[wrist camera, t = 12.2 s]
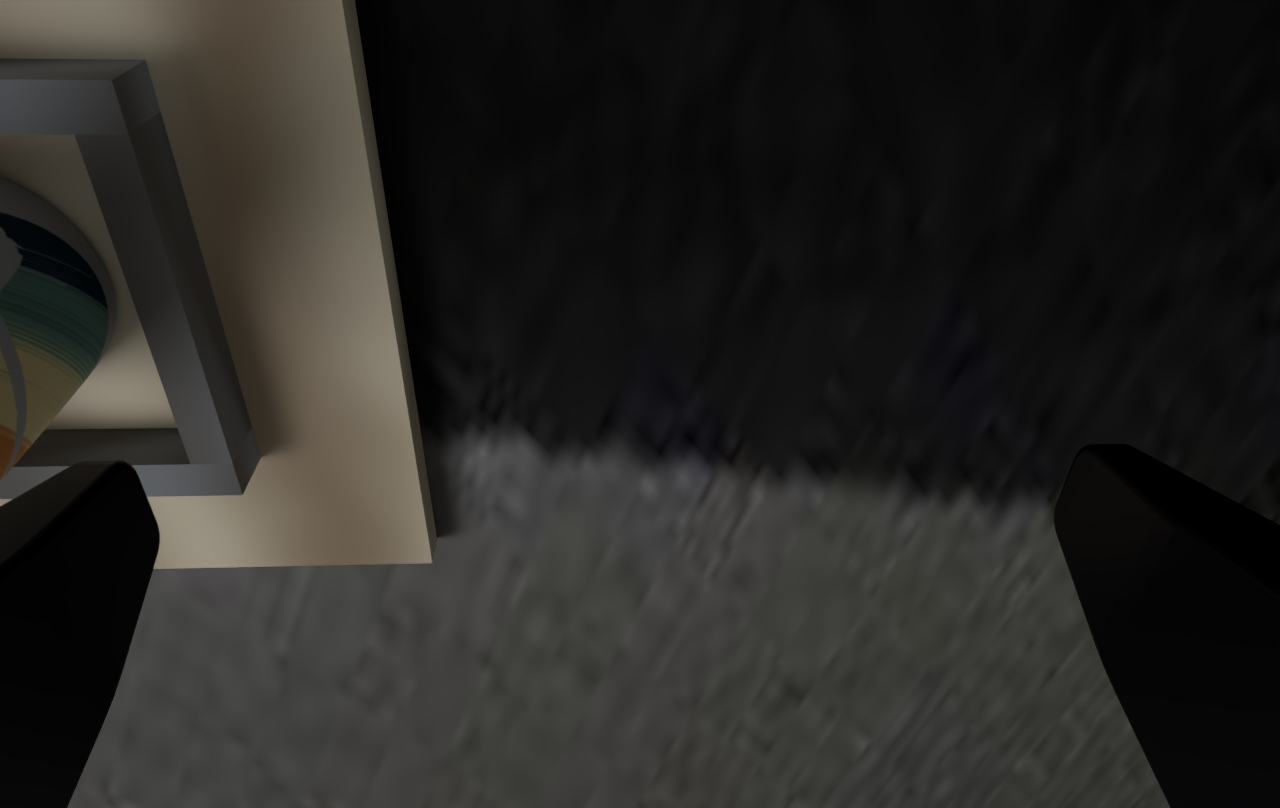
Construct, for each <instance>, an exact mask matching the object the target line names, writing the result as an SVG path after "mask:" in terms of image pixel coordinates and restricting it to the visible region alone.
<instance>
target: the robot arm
mask: <svg viewBox="0 0 1280 808" xmlns="http://www.w3.org/2000/svg"><path fill="white" fill-rule="evenodd" d="M1054 524H1055V530H1056V534H1057V537H1058V540H1059V542H1060V545H1061V548H1062V551H1063V554H1064V557H1065V560H1066V562H1067V565H1068V568H1069V571H1070V574H1071V577H1072V580H1073V582H1074V585H1075V588H1076V591H1077V594H1078V597H1079V600H1080V602H1081V605H1082V608H1083V611H1084V614H1085V617H1086V620H1087V622H1088V625H1089V628H1090V631H1091V634H1092V637H1093V640H1094V642H1095V645H1096V648H1097V650H1098V653H1099V656H1100V658H1101V661H1102V663H1103V666H1104V668H1105V670H1106V673H1107V675H1108V677H1109V679H1110V682H1111V684H1112V686H1113V688H1114V691H1115V693H1116V695H1117V697H1118V699H1119V701H1120V703H1121V705H1122V707H1123V710H1124V712H1125V714H1126V716H1127V718H1128V720H1129V722H1130V724H1131V726H1132V728H1133V731H1134V733H1135V735H1136V737H1137V739H1138V741H1139V743H1140V745H1141V747H1142V749H1143V751H1144V754H1145V756H1146V758H1147V760H1148V762H1149V764H1150V766H1151V768H1152V770H1153V772H1154V775H1155V777H1156V779H1157V781H1158V783H1159V785H1160V787H1161V789H1162V791H1163V793H1164V795H1165V798H1166V800H1167V802H1168V804H1169V806H1170V808H1280V525H1278V524H1276V523H1274V522H1273V521H1271V520H1269V519H1267V518H1265V517H1263V516H1261V515H1260V514H1258V513H1256V512H1254V511H1252V510H1250V509H1248V508H1246V507H1245V506H1243V505H1241V504H1239V503H1237V502H1235V501H1233V500H1231V499H1230V498H1228V497H1226V496H1224V495H1222V494H1220V493H1218V492H1216V491H1215V490H1213V489H1211V488H1209V487H1207V486H1205V485H1203V484H1201V483H1200V482H1198V481H1196V480H1194V479H1192V478H1190V477H1188V476H1186V475H1185V474H1183V473H1181V472H1179V471H1177V470H1175V469H1173V468H1171V467H1170V466H1168V465H1166V464H1164V463H1162V462H1160V461H1158V460H1157V459H1155V458H1153V457H1151V456H1149V455H1147V454H1145V453H1143V452H1142V451H1140V450H1138V449H1136V448H1134V447H1132V446H1130V445H1125V444H1091V445H1087V446H1085V447H1083V448H1081V449H1080V451H1079V452H1078V453H1077V454H1076V456H1075V458H1074V461H1073V463H1072V466H1071V468H1070V471H1069V474H1068V476H1067V479H1066V481H1065V484H1064V486H1063V489H1062V491H1061V494H1060V496H1059V499H1058V502H1057V504H1056V508H1055V513H1054ZM159 544H160V533H159V527H158V523H157V521H156V518H155V516H154V513H153V511H152V508H151V506H150V503H149V501H148V498H147V496H146V493H145V491H144V488H143V486H142V483H141V481H140V478H139V476H138V474H137V472H136V470H135V468H134V467H133V466H132V465H131V464H130V463H128V462H125V461H123V460H89V461H81V462H77V463H75V464H73V465H71V466H69V467H68V468H66V469H64V470H63V471H61V472H59V473H57V474H56V475H54V476H52V477H50V478H49V479H47V480H45V481H43V482H42V483H40V484H38V485H36V486H35V487H33V488H31V489H29V490H28V491H26V492H24V493H23V494H21V495H19V496H17V497H16V498H14V499H12V500H10V501H9V502H7V503H5V504H3V505H2V506H0V808H67V807H68V804H69V802H70V800H71V797H72V795H73V793H74V790H75V788H76V786H77V783H78V781H79V779H80V776H81V774H82V772H83V769H84V767H85V765H86V762H87V760H88V758H89V755H90V753H91V751H92V748H93V746H94V744H95V741H96V739H97V737H98V734H99V732H100V730H101V728H102V725H103V723H104V720H105V718H106V715H107V713H108V710H109V708H110V705H111V703H112V700H113V698H114V695H115V692H116V689H117V686H118V683H119V680H120V677H121V674H122V671H123V668H124V664H125V661H126V658H127V654H128V651H129V648H130V644H131V641H132V638H133V635H134V631H135V628H136V625H137V621H138V618H139V615H140V611H141V608H142V605H143V601H144V598H145V595H146V591H147V588H148V585H149V581H150V578H151V575H152V571H153V568H154V565H155V561H156V558H157V555H158V551H159Z"/></svg>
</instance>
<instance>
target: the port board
mask: <svg viewBox="0 0 1280 808" xmlns="http://www.w3.org/2000/svg"><path fill="white" fill-rule="evenodd" d="M0 177H2V178H4V179H7V180H9V181H11V182H13V183H15V184H17V185H19V186H21V187H23V188H25V189H26V190H28V191H30V192H32V193H33V194H35V195H37V196H38V197H40V198H41V199H43V200H44V201H46V202H47V203H48V204H50V205H51V206H52V207H54V208H55V209H56V210H57V211H59V212H60V213H61V214H62V215H63V216H64V217H65V218H67V219H68V220H69V221H70V222H71V223H72V224H73V225H74V226H75V227H76V228H77V229H78V230H79V231H80V233H81V234H82V235H83V236H84V237H85V238H86V240H87V241H88V242H89V244H90V245H91V246H92V248H93V249H94V251H95V252H96V254H97V255H98V257H99V259H100V260H101V262H102V264H103V266H104V268H105V270H106V272H107V274H108V276H109V279H110V282H111V284H112V288H113V292H114V296H115V302H116V324H115V329H114V333H113V336H112V339H111V342H110V344H109V347H108V349H107V350H106V352H105V354H104V356H103V357H102V359H101V360H100V362H99V363H98V365H97V366H96V367H95V369H94V370H93V371H92V373H91V374H90V375H89V377H88V378H87V379H86V380H85V382H84V383H83V384H82V385H81V387H80V388H79V389H78V390H77V391H76V393H75V394H74V395H73V396H72V398H71V399H70V400H69V401H68V402H67V404H66V405H65V406H64V407H63V408H62V410H61V411H60V412H59V413H58V414H57V416H56V417H55V418H54V419H53V420H52V422H51V423H50V424H49V425H48V426H47V427H46V429H45V430H44V431H43V432H42V433H41V434H40V436H39V437H38V438H37V439H36V440H35V442H34V443H33V444H32V445H31V446H30V447H29V449H28V450H27V451H26V452H25V453H24V455H23V456H22V457H21V458H20V459H19V460H18V462H17V463H16V464H15V465H14V466H13V467H12V469H11V470H10V471H9V472H8V473H7V475H6V476H5V477H4V478H3V479H2V480H1V482H0V506H2V505H3V504H5V503H7V502H9V501H10V500H12V499H14V498H16V497H17V496H19V495H21V494H23V493H24V492H26V491H28V490H29V489H31V488H33V487H35V486H36V485H38V484H40V483H42V482H43V481H45V480H47V479H49V478H50V477H52V476H54V475H56V474H57V473H59V472H61V471H63V470H64V469H66V468H68V467H69V466H71V465H73V464H75V463H77V462H81V461H89V460H123V461H125V462H128V463H130V464H131V465H132V466H133V467H134V468H135V470H136V472H137V474H138V476H139V478H140V481H141V483H142V486H143V488H144V491H145V493H146V496H147V498H148V501H149V503H150V506H151V508H152V511H153V513H154V516H155V518H156V521H157V523H158V527H159V533H160V544H159V551H158V555H157V558H156V561H155V565H154V568H153V569H171V568H219V567H267V566H315V565H364V564H412V563H432V562H433V557H434V552H435V547H436V542H437V535H436V529H435V522H434V516H433V509H432V502H431V496H430V489H429V483H428V476H427V470H426V463H425V457H424V450H423V444H422V437H421V430H420V424H419V417H418V411H417V404H416V398H415V391H414V385H413V378H412V372H411V365H410V358H409V352H408V345H407V339H406V332H405V326H404V319H403V313H402V306H401V300H400V293H399V286H398V280H397V273H396V267H395V260H394V254H393V247H392V241H391V234H390V228H389V221H388V214H387V208H386V201H385V195H384V188H383V182H382V175H381V169H380V162H379V156H378V149H377V142H376V136H375V129H374V123H373V116H372V110H371V103H370V97H369V90H368V84H367V77H366V70H365V64H364V57H363V51H362V44H361V38H360V31H359V25H358V18H357V12H356V5H355V0H0Z"/></svg>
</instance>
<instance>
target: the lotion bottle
mask: <svg viewBox="0 0 1280 808" xmlns="http://www.w3.org/2000/svg"><path fill="white" fill-rule="evenodd" d="M115 324H116V302H115V296H114V292H113V288H112V284H111V282H110V279H109V276H108V274H107V272H106V270H105V268H104V266H103V264H102V262H101V260H100V259H99V257H98V255H97V254H96V252H95V251H94V249H93V248H92V246H91V245H90V244H89V242H88V241H87V240H86V238H85V237H84V236H83V235H82V234H81V233H80V231H79V230H78V229H77V228H76V227H75V226H74V225H73V224H72V223H71V222H70V221H69V220H68V219H67V218H65V217H64V216H63V215H62V214H61V213H60V212H59V211H57V210H56V209H55V208H54V207H52V206H51V205H50V204H48V203H47V202H46V201H44V200H43V199H41V198H40V197H38V196H37V195H35V194H33V193H32V192H30V191H28V190H26V189H25V188H23V187H21V186H19V185H17V184H15V183H13V182H11V181H9V180H7V179H4V178H2V177H0V482H1V480H2V479H3V478H4V477H5V476H6V475H7V473H8V472H9V471H10V470H11V469H12V467H13V466H14V465H15V464H16V463H17V462H18V460H19V459H20V458H21V457H22V456H23V455H24V453H25V452H26V451H27V450H28V449H29V447H30V446H31V445H32V444H33V443H34V442H35V440H36V439H37V438H38V437H39V436H40V434H41V433H42V432H43V431H44V430H45V429H46V427H47V426H48V425H49V424H50V423H51V422H52V420H53V419H54V418H55V417H56V416H57V414H58V413H59V412H60V411H61V410H62V408H63V407H64V406H65V405H66V404H67V402H68V401H69V400H70V399H71V398H72V396H73V395H74V394H75V393H76V391H77V390H78V389H79V388H80V387H81V385H82V384H83V383H84V382H85V380H86V379H87V378H88V377H89V375H90V374H91V373H92V371H93V370H94V369H95V367H96V366H97V365H98V363H99V362H100V360H101V359H102V357H103V356H104V354H105V352H106V350H107V349H108V347H109V344H110V342H111V339H112V336H113V333H114V329H115Z"/></svg>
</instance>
